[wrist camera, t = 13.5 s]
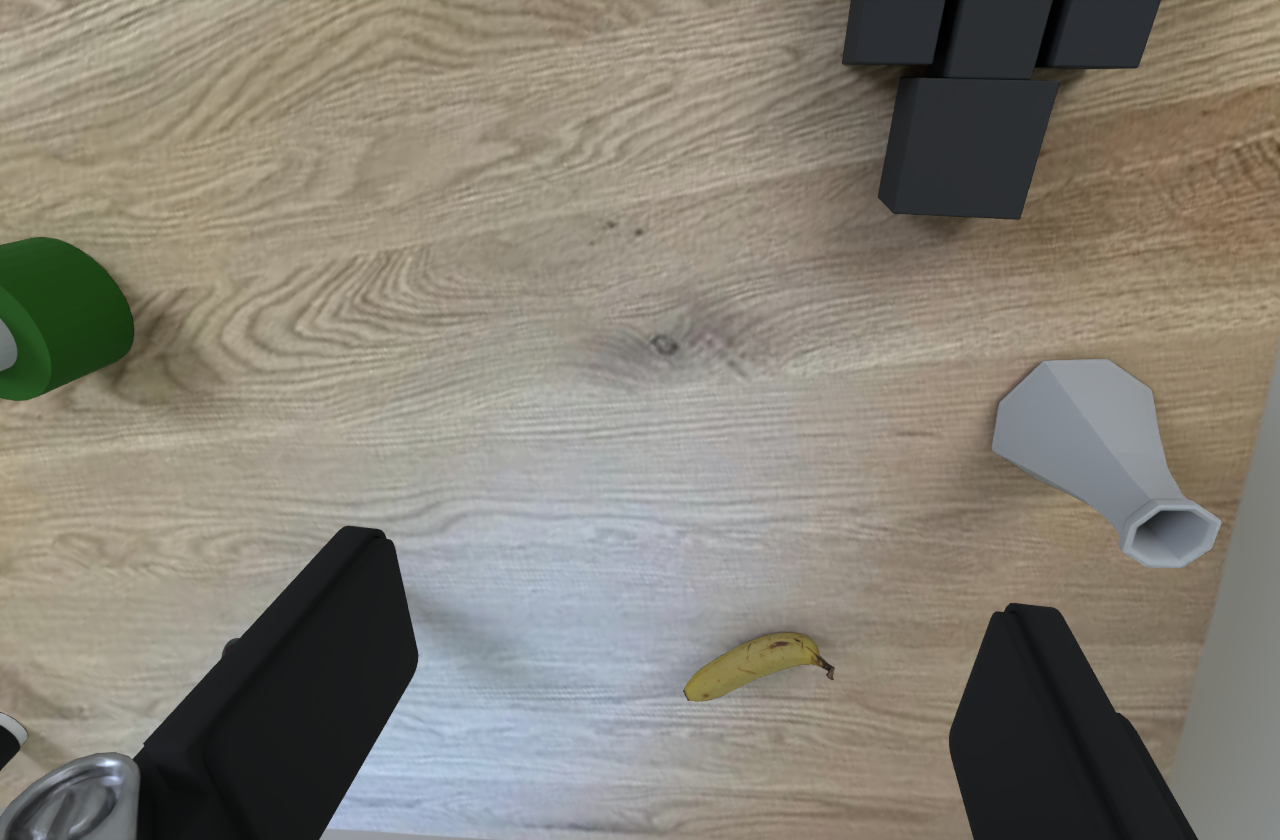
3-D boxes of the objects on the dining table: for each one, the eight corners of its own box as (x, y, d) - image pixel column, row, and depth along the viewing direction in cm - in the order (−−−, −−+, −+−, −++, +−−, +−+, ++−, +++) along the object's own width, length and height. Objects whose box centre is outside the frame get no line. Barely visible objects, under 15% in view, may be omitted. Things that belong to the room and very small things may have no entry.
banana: (695, 665, 47) (690, 712, 43) (683, 641, 46) (677, 688, 42) (835, 640, 44) (841, 690, 40) (824, 615, 43) (830, 663, 39)
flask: (1033, 337, 32) (1134, 435, 23) (1177, 375, 32) (1333, 489, 23) (965, 456, 36) (1031, 579, 27) (1095, 491, 35) (1204, 627, 27)
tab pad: (990, 202, 30) (1020, 220, 26) (877, 198, 30) (892, 213, 27) (1050, -23, 26) (1095, -39, 22) (918, -23, 26) (942, -38, 23)
